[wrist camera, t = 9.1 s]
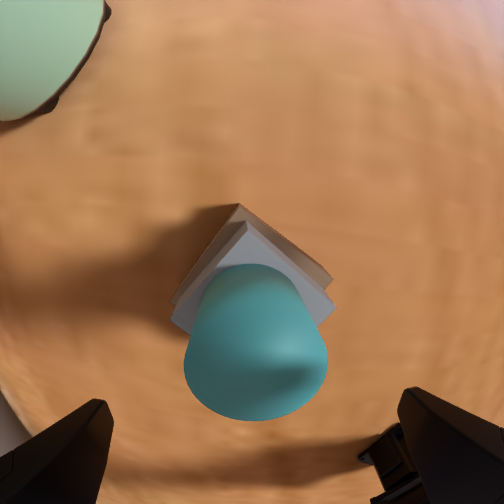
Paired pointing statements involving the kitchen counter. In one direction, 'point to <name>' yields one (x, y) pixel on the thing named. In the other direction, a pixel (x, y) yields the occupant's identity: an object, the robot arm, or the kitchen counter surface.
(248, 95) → the kitchen counter surface
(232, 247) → the tower top
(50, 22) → the blender
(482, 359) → the kitchen counter surface
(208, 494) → the kitchen counter surface
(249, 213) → the tower base
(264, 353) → the teal domed cylinder
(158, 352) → the kitchen counter surface
